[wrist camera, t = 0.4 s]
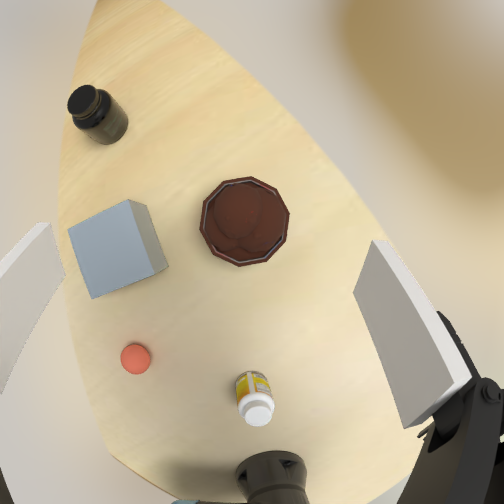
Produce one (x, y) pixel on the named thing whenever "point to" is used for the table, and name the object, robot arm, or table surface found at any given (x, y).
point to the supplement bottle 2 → (254, 398)
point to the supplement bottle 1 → (97, 114)
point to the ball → (135, 359)
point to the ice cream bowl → (244, 221)
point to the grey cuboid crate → (117, 248)
